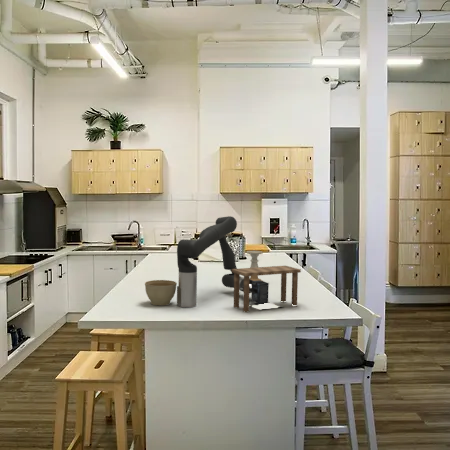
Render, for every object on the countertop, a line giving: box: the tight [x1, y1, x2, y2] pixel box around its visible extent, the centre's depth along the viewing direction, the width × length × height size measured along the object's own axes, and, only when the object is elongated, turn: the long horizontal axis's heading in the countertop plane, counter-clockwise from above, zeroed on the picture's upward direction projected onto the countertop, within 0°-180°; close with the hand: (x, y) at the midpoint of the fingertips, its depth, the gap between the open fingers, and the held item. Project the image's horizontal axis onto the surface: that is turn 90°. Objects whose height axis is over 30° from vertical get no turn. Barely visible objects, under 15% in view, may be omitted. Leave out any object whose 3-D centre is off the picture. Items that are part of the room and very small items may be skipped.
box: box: [250, 279, 270, 304], centre depth 260 cm, size 8×6×11 cm
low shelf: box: [230, 265, 302, 313], centre depth 254 cm, size 32×14×19 cm, turn 117°
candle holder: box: [246, 250, 264, 281], centre depth 318 cm, size 12×12×20 cm
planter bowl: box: [144, 279, 178, 306], centre depth 258 cm, size 16×16×11 cm
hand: (261, 291), depth 258 cm, fingers closed on box, 5 cm apart
